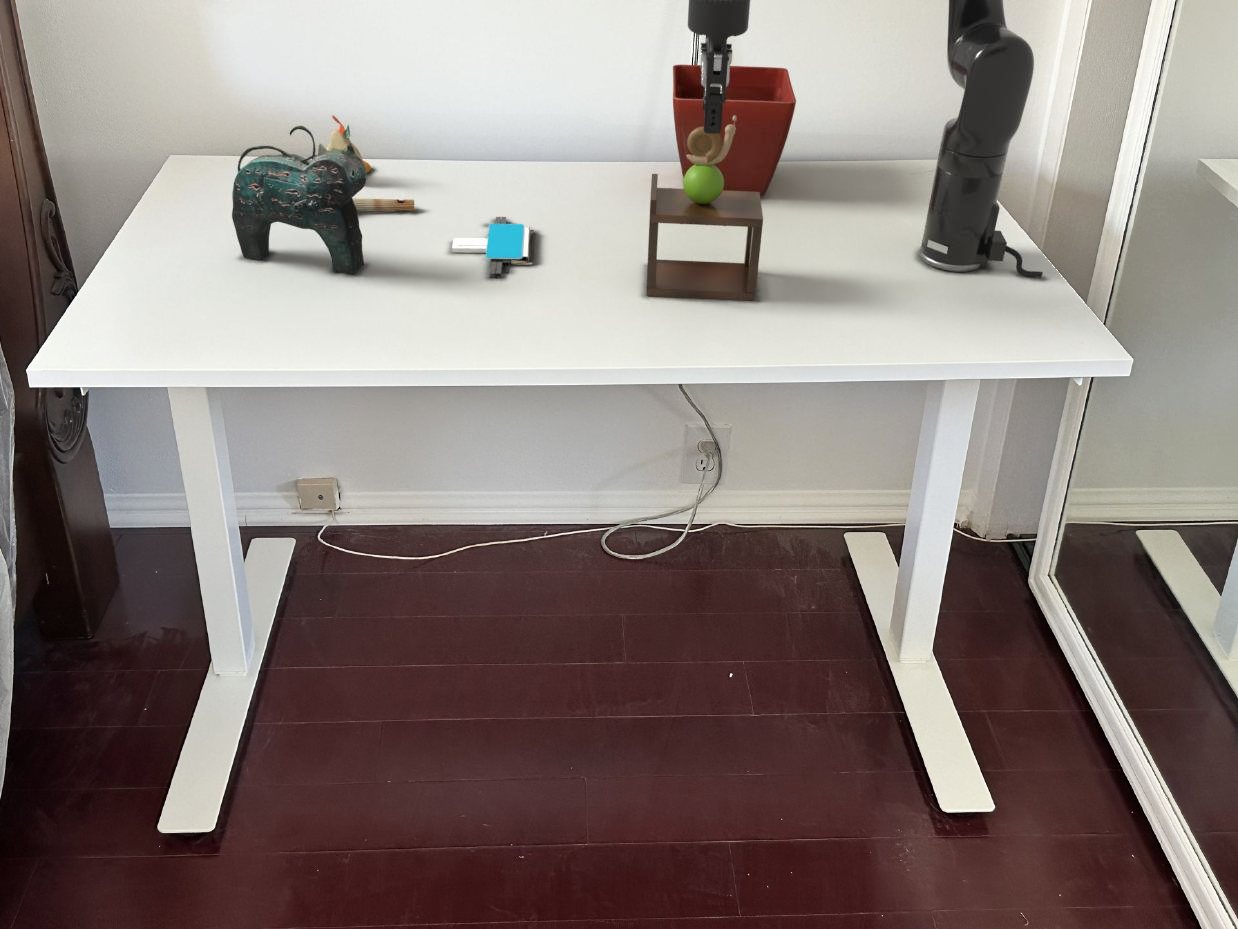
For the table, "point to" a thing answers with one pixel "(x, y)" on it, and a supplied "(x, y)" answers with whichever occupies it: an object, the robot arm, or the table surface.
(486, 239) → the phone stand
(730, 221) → the box
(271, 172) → the ceramic cat
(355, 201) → the ribbed wooden cylinder
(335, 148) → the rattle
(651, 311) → the table surface
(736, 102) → the flower pot
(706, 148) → the snail figurine
